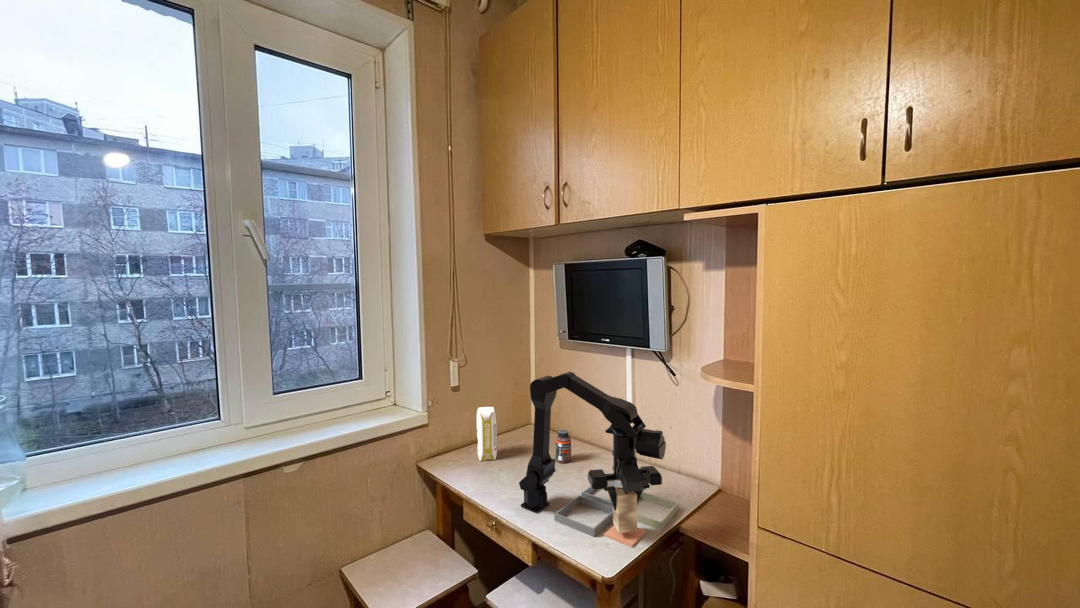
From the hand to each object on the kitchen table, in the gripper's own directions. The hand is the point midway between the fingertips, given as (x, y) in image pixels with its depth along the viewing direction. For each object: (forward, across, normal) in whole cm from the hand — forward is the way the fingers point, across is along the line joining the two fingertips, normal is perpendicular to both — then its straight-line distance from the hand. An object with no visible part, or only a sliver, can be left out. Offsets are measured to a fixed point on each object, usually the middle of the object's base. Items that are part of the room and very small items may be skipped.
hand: (624, 508), depth 111 cm
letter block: (+5, 0, 0) cm, 5 cm away
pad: (+7, 0, 0) cm, 7 cm away
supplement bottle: (+7, -8, +49) cm, 50 cm away
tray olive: (+7, +10, +10) cm, 16 cm away
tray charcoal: (+7, -8, +9) cm, 14 cm away
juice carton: (+7, -37, +57) cm, 68 cm away
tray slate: (+7, +2, +20) cm, 21 cm away
